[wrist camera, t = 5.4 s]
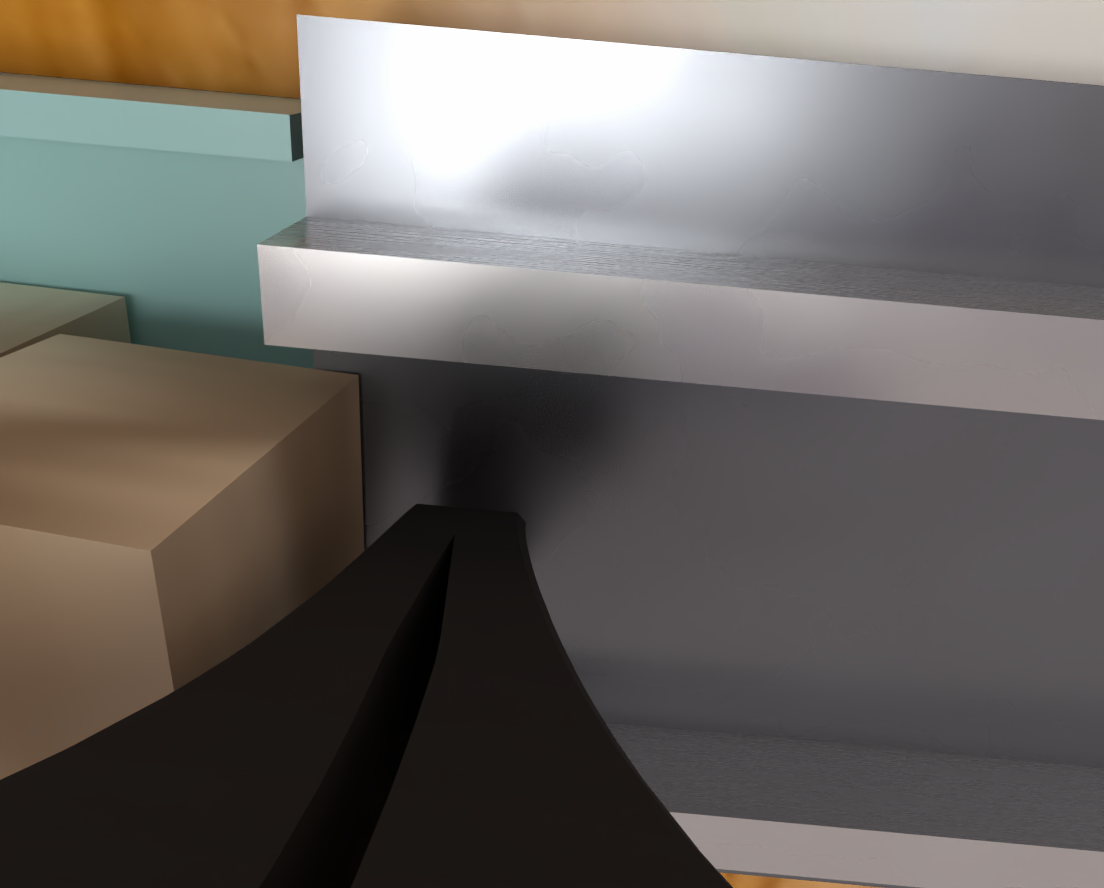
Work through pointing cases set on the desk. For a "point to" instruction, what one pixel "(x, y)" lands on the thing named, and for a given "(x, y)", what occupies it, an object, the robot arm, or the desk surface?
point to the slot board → (747, 415)
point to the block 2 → (156, 522)
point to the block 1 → (58, 316)
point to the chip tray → (151, 203)
